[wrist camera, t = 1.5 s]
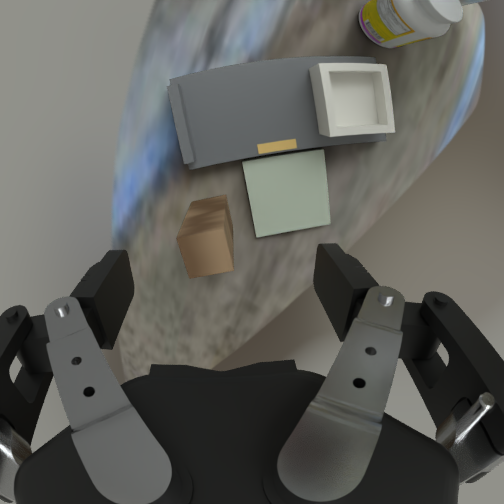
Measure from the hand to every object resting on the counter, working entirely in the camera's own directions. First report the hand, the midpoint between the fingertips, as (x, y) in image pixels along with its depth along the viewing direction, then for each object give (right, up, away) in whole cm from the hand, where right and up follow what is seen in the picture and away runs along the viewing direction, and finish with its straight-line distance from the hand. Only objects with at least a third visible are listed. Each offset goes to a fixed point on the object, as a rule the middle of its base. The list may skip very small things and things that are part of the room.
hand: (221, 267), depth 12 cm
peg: (-3, +5, +21) cm, 22 cm away
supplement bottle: (+17, +28, +11) cm, 34 cm away
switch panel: (+5, +16, +16) cm, 23 cm away
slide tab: (+11, +17, +14) cm, 24 cm away
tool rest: (+5, +7, +20) cm, 22 cm away
